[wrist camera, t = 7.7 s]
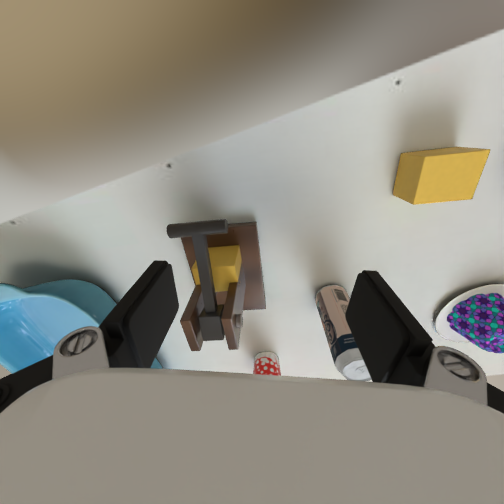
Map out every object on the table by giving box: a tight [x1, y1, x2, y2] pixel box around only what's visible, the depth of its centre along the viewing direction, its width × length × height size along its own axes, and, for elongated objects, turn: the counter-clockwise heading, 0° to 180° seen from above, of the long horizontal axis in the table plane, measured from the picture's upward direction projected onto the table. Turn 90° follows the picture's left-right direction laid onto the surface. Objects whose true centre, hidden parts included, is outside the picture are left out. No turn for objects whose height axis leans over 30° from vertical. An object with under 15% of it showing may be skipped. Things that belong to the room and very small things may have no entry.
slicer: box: [180, 222, 266, 351], centre depth 26 cm, size 14×10×12 cm
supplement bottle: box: [315, 285, 371, 381], centre depth 28 cm, size 5×5×12 cm
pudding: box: [435, 284, 504, 353], centre depth 31 cm, size 12×12×5 cm
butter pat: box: [393, 147, 490, 205], centre depth 22 cm, size 4×6×4 cm
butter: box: [191, 245, 243, 292], centre depth 27 cm, size 4×5×5 cm
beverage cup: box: [253, 352, 281, 376], centre depth 35 cm, size 6×6×14 cm
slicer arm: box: [167, 219, 228, 341], centre depth 22 cm, size 12×6×2 cm, turn 7°
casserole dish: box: [0, 279, 163, 373], centre depth 38 cm, size 37×22×7 cm, turn 15°
